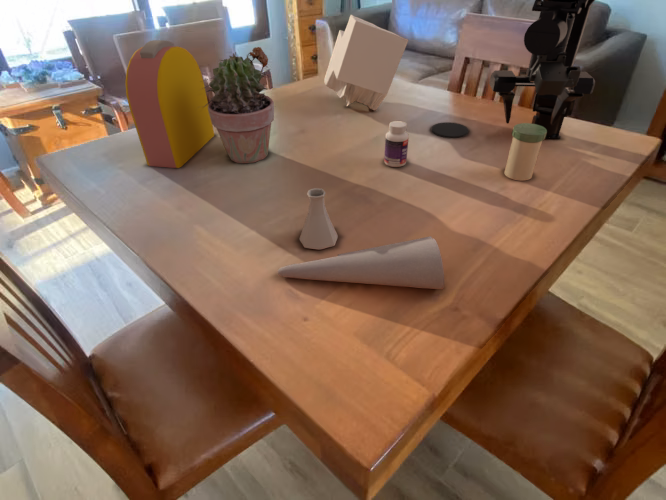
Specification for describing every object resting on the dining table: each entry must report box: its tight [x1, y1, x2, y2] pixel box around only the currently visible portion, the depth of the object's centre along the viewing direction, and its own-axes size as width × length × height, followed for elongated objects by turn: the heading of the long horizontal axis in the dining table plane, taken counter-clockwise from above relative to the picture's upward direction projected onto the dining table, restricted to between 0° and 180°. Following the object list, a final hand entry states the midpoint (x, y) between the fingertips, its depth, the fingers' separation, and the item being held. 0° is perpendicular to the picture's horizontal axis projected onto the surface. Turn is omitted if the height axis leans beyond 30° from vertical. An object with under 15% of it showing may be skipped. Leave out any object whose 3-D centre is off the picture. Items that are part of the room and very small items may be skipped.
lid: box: [511, 122, 547, 142], centre depth 92 cm, size 7×7×2 cm
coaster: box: [431, 121, 469, 139], centre depth 119 cm, size 10×10×1 cm
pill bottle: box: [383, 120, 410, 168], centre depth 101 cm, size 5×5×10 cm
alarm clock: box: [124, 39, 215, 169], centre depth 105 cm, size 21×9×26 cm, turn 168°
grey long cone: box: [277, 235, 445, 290], centre depth 68 cm, size 8×9×26 cm
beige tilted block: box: [323, 14, 409, 112], centre depth 130 cm, size 20×16×25 cm
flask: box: [299, 187, 339, 250], centre depth 77 cm, size 7×7×10 cm
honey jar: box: [503, 136, 543, 182], centre depth 95 cm, size 6×6×10 cm
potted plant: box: [200, 46, 275, 164], centre depth 101 cm, size 18×20×25 cm
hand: (529, 123), depth 91 cm, fingers open, 9 cm apart
